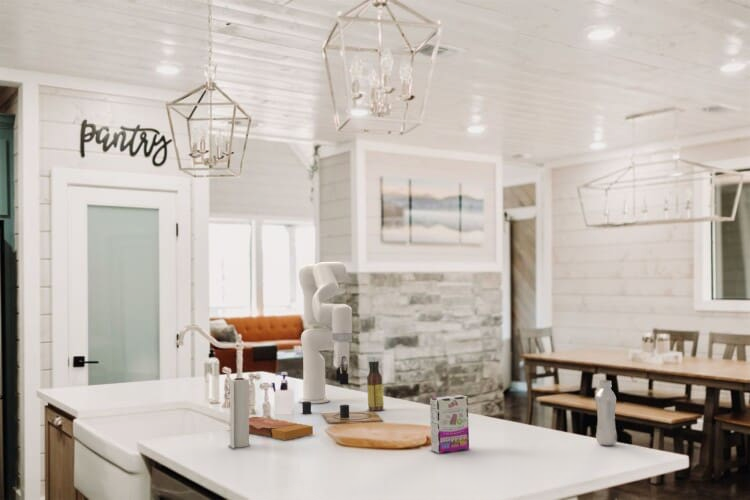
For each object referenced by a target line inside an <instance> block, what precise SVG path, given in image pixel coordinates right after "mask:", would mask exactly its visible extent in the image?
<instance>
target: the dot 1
mask: <svg viewBox="0 0 750 500" xmlns="http://www.w3.org/2000/svg"><path fill="white" fill-rule="evenodd" d="M301 404H302V406H301V409H302V411H301V412H302V414H303V415H311V414H312V404H311V402H310V401H305V402H302V403H301Z"/></svg>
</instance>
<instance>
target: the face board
mask: <svg viewBox="0 0 750 500" xmlns="http://www.w3.org/2000/svg"><path fill="white" fill-rule="evenodd" d="M322 415H323V417H324V419H325V420H326V422H327V424H329V425H334V424H335V425H337V424H339V423H340V424H347V423H346V422H362V423H379V422H381V423H383V422H384V420H383V419H382V418H381V417H380V416H379V414H377V413H376V411H371V410H363V411H360V410H359V411H349V418H340V411H337V412H323V413H322Z"/></svg>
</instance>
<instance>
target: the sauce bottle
mask: <svg viewBox="0 0 750 500" xmlns="http://www.w3.org/2000/svg"><path fill="white" fill-rule="evenodd" d="M379 364H380V362H379V360H369V361H368V367H369V373H368V375H367V377H366V382H367V384H366V387H367V405H368V411H373V412H376V411H377V412H380V411H383V410H384V387H383V386H384V385H383V377H382V375H381V373H380V369H379V368H380V367H379Z"/></svg>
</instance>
